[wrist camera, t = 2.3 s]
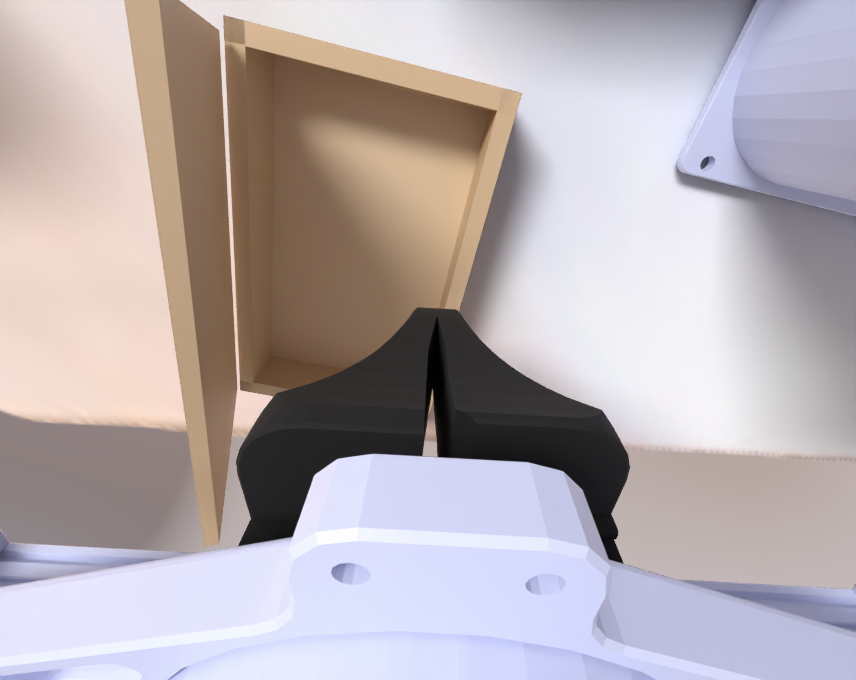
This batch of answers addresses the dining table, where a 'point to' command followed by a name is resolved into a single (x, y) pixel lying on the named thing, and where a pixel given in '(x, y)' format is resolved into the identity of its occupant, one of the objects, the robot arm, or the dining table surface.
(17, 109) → the dining table surface
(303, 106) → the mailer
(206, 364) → the lid
